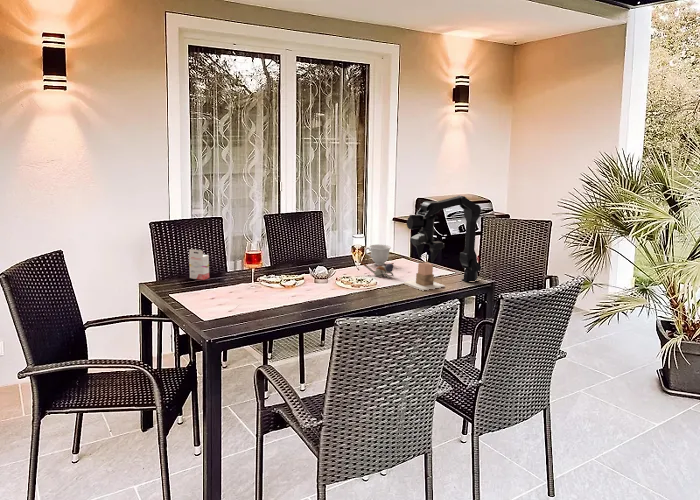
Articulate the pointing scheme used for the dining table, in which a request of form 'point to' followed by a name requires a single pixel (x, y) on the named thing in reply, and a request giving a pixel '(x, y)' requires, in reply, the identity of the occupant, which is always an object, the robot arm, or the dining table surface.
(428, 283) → the walnut block
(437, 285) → the pad
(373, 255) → the teacup
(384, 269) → the toy
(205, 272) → the ink cartridge box
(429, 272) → the clay block
